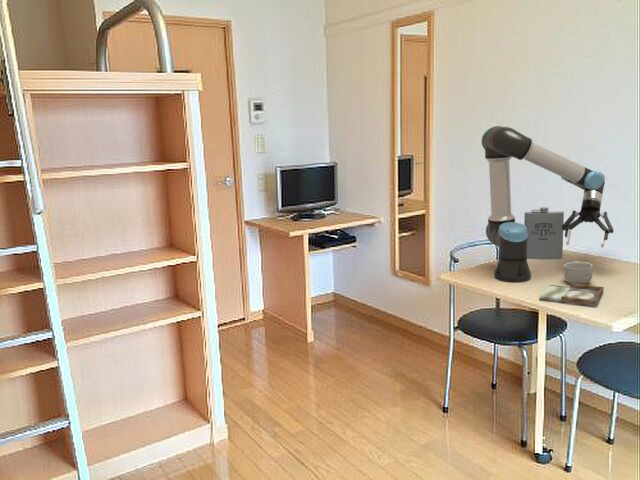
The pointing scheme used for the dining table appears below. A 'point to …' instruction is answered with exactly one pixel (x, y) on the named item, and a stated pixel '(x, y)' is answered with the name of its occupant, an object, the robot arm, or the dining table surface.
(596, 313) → the dining table surface
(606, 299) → the dining table surface
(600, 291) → the board
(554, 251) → the flask
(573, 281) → the teacup
